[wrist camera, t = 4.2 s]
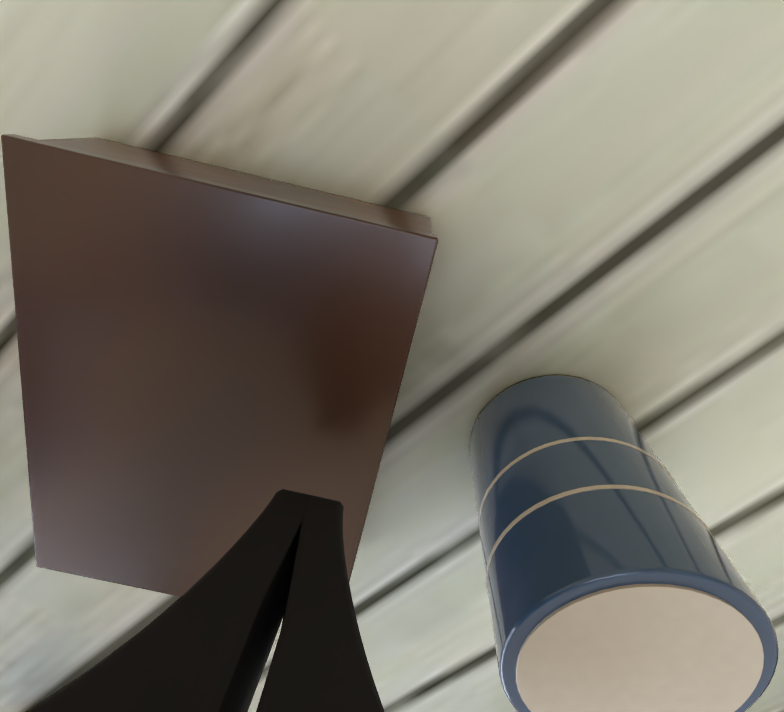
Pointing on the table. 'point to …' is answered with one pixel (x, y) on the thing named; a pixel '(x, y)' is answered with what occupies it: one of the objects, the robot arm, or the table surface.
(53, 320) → the brown flat block
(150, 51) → the table surface
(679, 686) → the blue cylindrical container
